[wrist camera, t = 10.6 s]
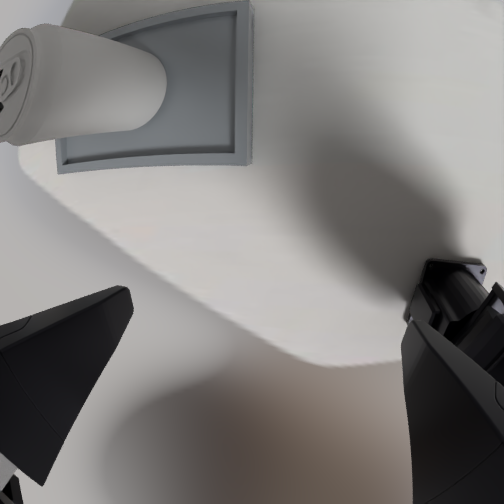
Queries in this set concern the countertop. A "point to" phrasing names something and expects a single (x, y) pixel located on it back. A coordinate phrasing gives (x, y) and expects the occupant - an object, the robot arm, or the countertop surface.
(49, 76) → the beverage can
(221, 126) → the tray
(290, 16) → the countertop surface
